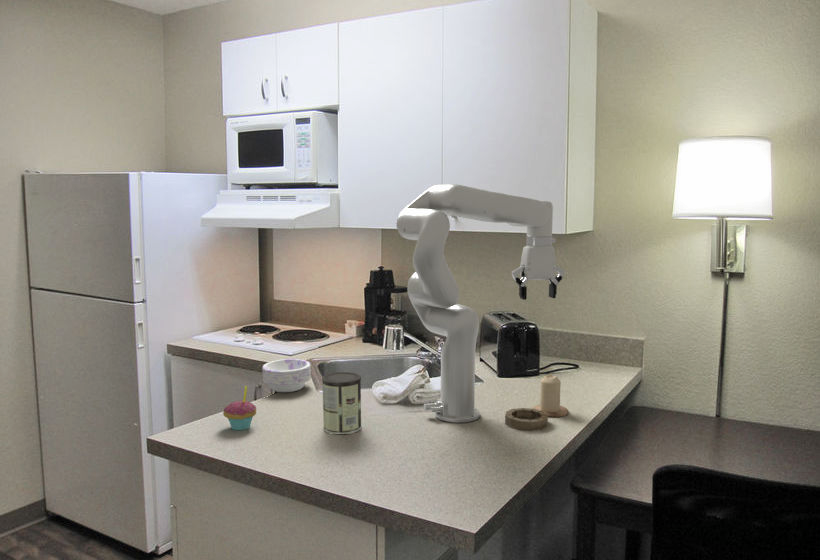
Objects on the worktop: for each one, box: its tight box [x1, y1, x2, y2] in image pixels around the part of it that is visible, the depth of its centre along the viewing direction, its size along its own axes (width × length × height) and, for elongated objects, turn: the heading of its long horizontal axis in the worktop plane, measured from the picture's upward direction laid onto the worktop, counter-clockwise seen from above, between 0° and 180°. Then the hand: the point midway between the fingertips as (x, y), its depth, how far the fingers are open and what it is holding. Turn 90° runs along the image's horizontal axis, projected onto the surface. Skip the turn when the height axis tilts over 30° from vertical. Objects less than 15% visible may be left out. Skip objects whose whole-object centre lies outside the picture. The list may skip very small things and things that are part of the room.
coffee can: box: [321, 371, 362, 435], centre depth 179 cm, size 10×10×14 cm
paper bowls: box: [261, 358, 312, 393], centre depth 215 cm, size 15×15×8 cm
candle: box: [539, 374, 561, 413], centre depth 193 cm, size 6×6×10 cm
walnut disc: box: [532, 404, 569, 418], centre depth 194 cm, size 10×10×1 cm
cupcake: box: [222, 383, 257, 431], centre depth 180 cm, size 9×8×12 cm
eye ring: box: [504, 407, 549, 432], centre depth 184 cm, size 11×11×2 cm
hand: (537, 298), depth 206 cm, fingers open, 9 cm apart
